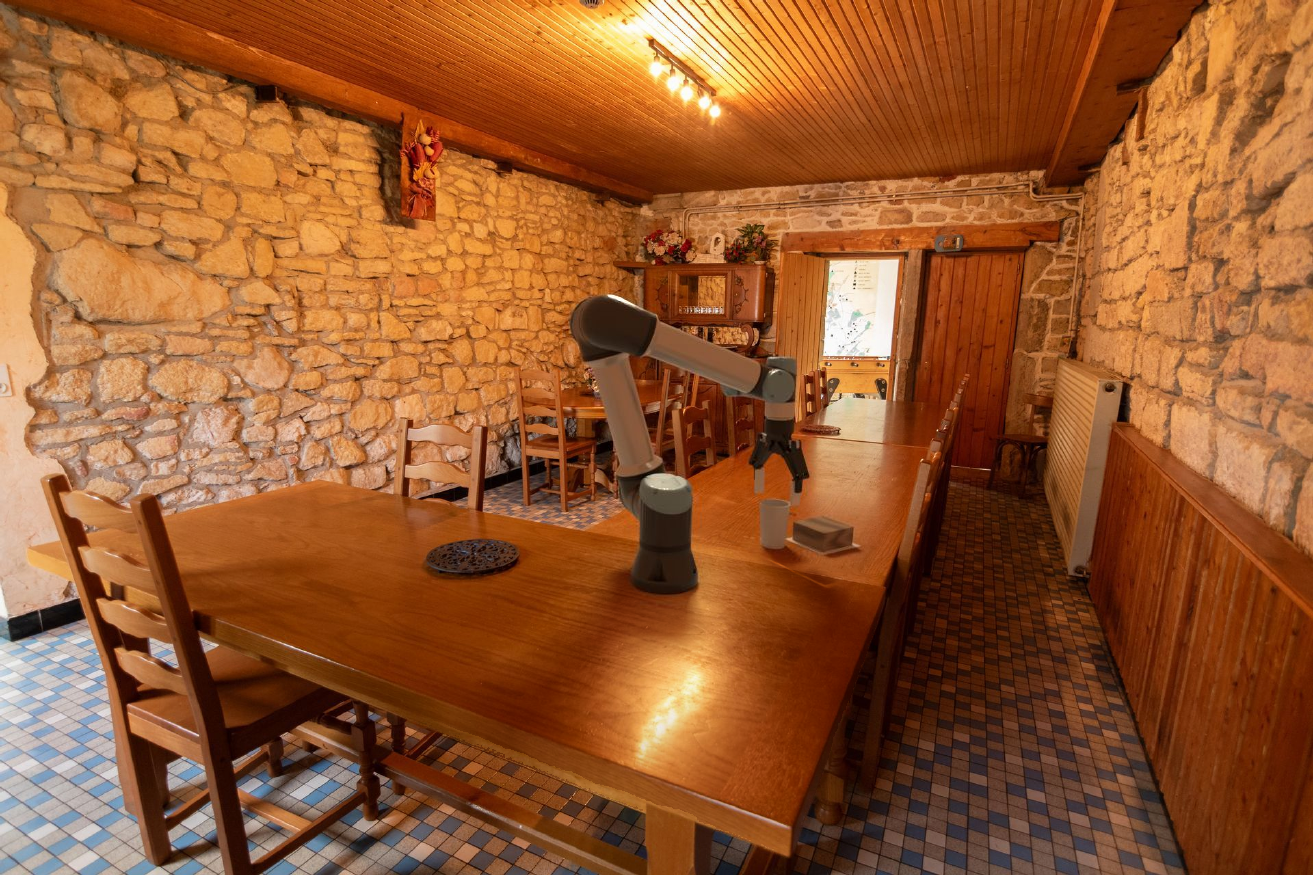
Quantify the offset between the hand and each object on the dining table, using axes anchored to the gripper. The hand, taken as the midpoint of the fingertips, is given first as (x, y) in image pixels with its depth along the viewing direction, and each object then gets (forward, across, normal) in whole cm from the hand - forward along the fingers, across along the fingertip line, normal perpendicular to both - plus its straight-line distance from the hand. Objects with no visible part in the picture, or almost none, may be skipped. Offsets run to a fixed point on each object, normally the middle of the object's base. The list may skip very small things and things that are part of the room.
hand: (776, 498), depth 160 cm
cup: (+13, 0, 0) cm, 13 cm away
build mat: (+13, -5, -12) cm, 19 cm away
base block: (+13, -5, -12) cm, 18 cm away
